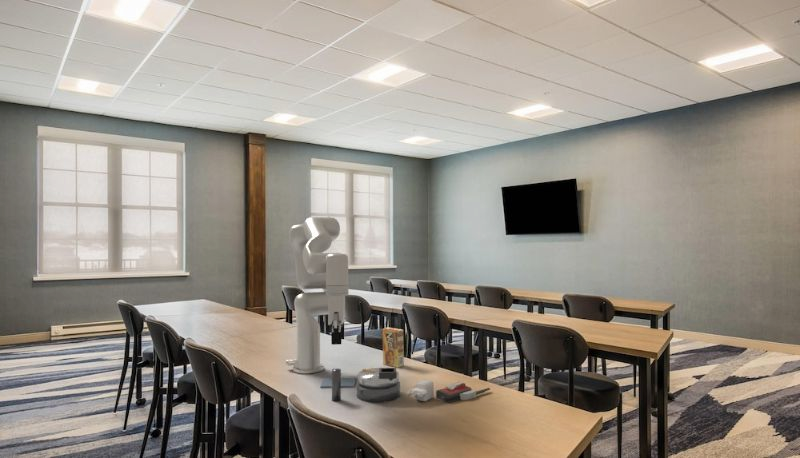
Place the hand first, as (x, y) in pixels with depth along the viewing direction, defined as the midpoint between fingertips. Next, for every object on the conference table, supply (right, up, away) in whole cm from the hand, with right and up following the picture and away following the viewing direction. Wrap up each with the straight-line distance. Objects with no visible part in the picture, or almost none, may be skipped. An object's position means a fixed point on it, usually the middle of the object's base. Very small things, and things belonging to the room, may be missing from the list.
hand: (337, 341), depth 157 cm
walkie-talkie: (+42, -20, +2) cm, 47 cm away
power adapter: (+28, -19, -3) cm, 34 cm away
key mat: (-2, -20, +17) cm, 26 cm away
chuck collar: (+14, -15, +3) cm, 20 cm away
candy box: (+18, -20, +41) cm, 50 cm away
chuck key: (0, -19, -1) cm, 19 cm away
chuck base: (+14, -19, +3) cm, 24 cm away
